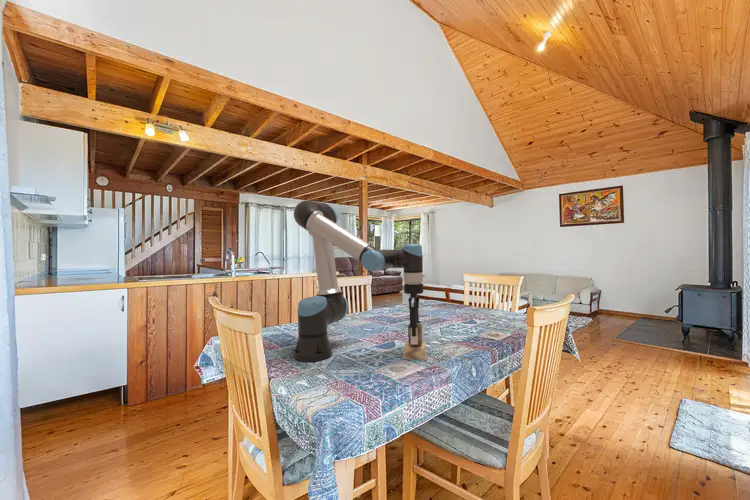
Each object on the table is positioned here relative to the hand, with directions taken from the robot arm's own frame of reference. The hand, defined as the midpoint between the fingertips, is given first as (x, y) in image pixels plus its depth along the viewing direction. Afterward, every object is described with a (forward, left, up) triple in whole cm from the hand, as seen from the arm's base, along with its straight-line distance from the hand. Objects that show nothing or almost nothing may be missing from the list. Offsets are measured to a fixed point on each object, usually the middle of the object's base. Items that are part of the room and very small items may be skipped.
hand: (415, 341), depth 128 cm
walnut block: (0, 0, 0) cm, 0 cm away
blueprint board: (0, 0, -6) cm, 6 cm away
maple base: (0, 0, -5) cm, 5 cm away
